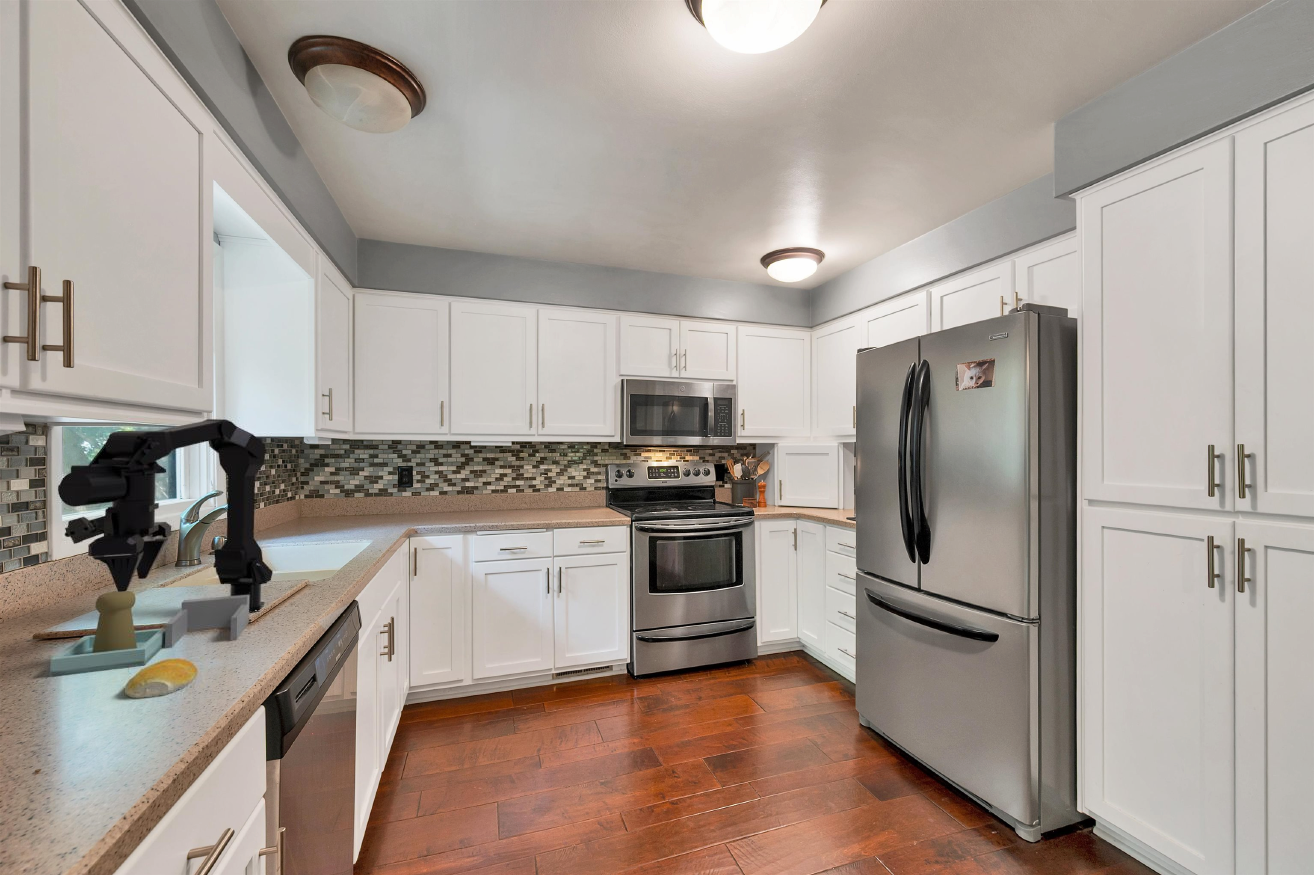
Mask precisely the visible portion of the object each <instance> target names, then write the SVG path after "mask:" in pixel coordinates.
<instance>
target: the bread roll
mask: <svg viewBox="0 0 1314 875" xmlns="http://www.w3.org/2000/svg"><path fill="white" fill-rule="evenodd" d="M197 675H198V668H197V666H196V665H195V664H194V663H193V662H191V661H190V660H187V659H185V658H169V659H163V660H160V661H158V662H155V663H153V664H150V665H149V666H146V667H144V668H142V669H141V670H139V671H138V672H136V674H135V675H134V676H132V677H131V678H130V679H129V680H128V681H127V682H126V685H125V689H124V693H125V694H126V695H127V696H128V697H130V698H133V699H144V697H146V698H153V697H152V696H156V697H160V696H159V695H162V696H164V695H163V694H166V695H168V694H167V693H170V694H172V693H171V692H173V691H175V690H178V689H180V688H182V687H184V688H186V687H187V686H188V685H189V684H190V683H191V682H192V681H193V680H194V679H195V678H196V677H197ZM187 684H188V685H187ZM186 685H187V686H186ZM185 686H186V687H185ZM182 689H183V688H182ZM180 690H181V689H180ZM178 691H179V690H178ZM175 692H176V691H175ZM173 693H174V692H173Z"/></svg>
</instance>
